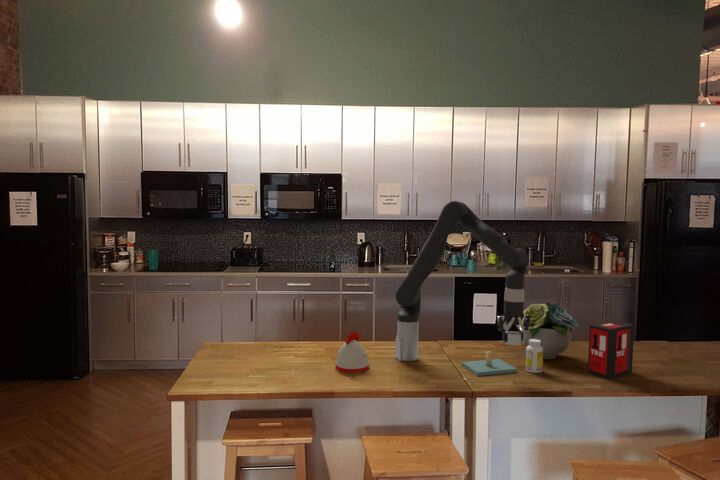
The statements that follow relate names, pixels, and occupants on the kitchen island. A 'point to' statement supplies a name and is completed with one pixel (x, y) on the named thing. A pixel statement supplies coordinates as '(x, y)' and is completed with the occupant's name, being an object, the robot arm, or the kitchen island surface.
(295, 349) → the kitchen island surface
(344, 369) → the grey beanie hat
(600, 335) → the cleaning product box
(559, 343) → the flower arrangement
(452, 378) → the kitchen island surface
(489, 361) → the post stand
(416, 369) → the kitchen island surface
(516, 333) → the steel hub
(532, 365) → the supplement bottle
